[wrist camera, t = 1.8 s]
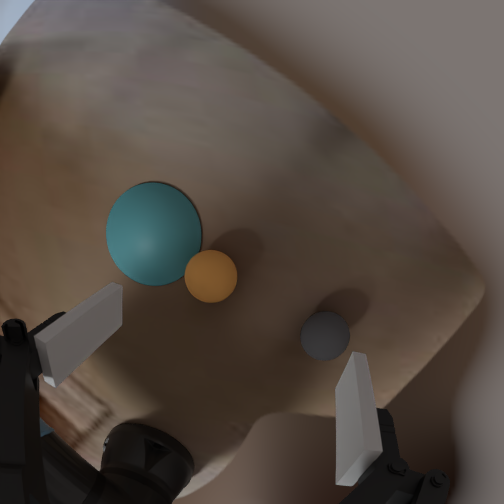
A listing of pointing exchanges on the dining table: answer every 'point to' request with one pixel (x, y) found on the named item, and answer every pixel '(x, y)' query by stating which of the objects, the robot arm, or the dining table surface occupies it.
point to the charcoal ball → (325, 335)
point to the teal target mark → (153, 233)
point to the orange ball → (210, 276)
